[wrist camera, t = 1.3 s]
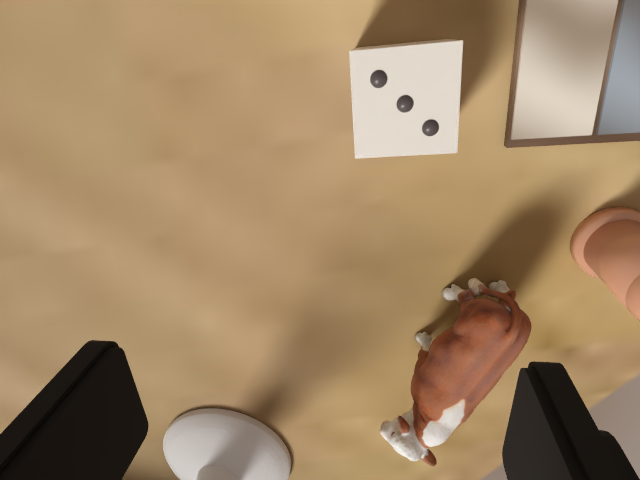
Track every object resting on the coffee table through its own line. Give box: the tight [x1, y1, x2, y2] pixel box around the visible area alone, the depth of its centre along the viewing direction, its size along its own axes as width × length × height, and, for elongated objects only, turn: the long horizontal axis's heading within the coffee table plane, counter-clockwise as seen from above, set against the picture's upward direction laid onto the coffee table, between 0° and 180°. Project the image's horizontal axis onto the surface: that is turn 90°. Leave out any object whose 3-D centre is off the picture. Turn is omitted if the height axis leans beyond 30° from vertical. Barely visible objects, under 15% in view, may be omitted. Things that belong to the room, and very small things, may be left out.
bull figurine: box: [380, 278, 531, 466], centre depth 27 cm, size 4×13×8 cm, turn 153°
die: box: [349, 39, 463, 158], centre depth 22 cm, size 5×5×5 cm
